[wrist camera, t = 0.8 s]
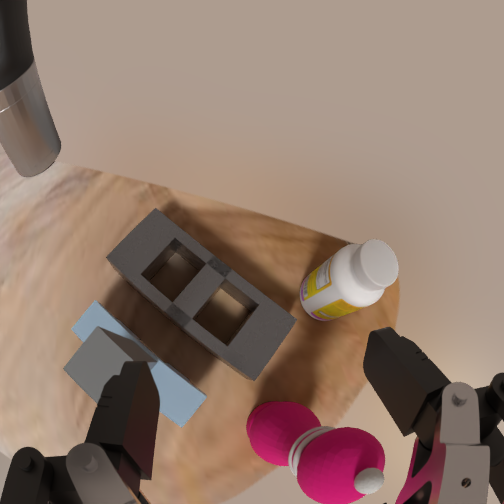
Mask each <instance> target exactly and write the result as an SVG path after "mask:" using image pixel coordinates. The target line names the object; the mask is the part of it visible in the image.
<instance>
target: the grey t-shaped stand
mask: <svg viewBox="0 0 504 504" xmlns="http://www.w3.org/2000/svg"><path fill="white" fill-rule="evenodd" d="M72 330H73V332H74V333H75V334H76V335H77V336H78V337H79V338H80V339H81V340H82V341H83V344H82V345H81V347H80V348H79V349H78V350H77V352H76V353H75V354H74V355H73V357H72V358H71V359H70V360H69V362H68V363H67V364H66V366H65V367H64V368H63V369H64V370H65V371H66V372H67V374H68V375H69V376H70V377H71V378H72V379H73V380H74V381H75V382H76V383H77V384H78V385H79V386H80V387H81V388H82V389H83V390H84V391H85V392H86V393H87V394H88V395H89V396H90V397H91V398H92V399H93V400H94V401H95V402H96V403H97V404H98V401H99V398H101V396H100V395H101V393H102V390H103V387H104V385H105V384H106V382H107V381H108V380H109V379H110V378H111V377H112V376H113V375H120V372H121V369H122V366H123V364H124V362H125V361H146V362H147V363H148V365H149V368H150V371H151V373H152V376H153V378H154V381H155V384H156V386H157V389H158V391H159V396H160V410H159V411H160V412H161V413H162V414H164V415H165V416H166V417H168V418H169V419H170V420H172V421H173V422H175V423H176V424H177V425H179V426H180V427H183V426H184V425H185V423H186V422H187V421H188V420H189V419H190V417H191V416H192V415H193V414H194V412H195V411H196V410H197V409H198V408H199V406H200V405H201V404H202V403H203V401H204V400H205V399H206V398H207V395H206V394H205V393H203V392H202V391H201V390H199V389H198V388H197V387H195V386H194V385H193V384H191V383H190V382H189V379H188V378H186V377H185V376H184V375H183V374H181V373H180V372H179V371H177V370H176V369H175V368H174V367H172V366H171V365H170V364H169V363H165V362H163V361H162V360H161V359H160V358H158V357H157V356H156V355H155V354H154V353H153V352H151V351H150V350H149V349H148V348H147V347H146V346H145V345H143V344H142V343H141V342H140V340H141V339H139V338H138V337H137V336H136V335H135V334H134V333H133V332H132V331H131V330H130V329H129V328H127V327H126V326H125V325H124V324H123V323H122V322H121V321H119V320H118V319H116V318H115V317H113V316H112V315H111V314H110V313H109V312H108V311H107V310H106V309H105V308H104V307H103V306H102V305H101V304H100V303H99V302H98V301H96V300H95V301H94V302H93V303H92V304H91V306H90V307H89V308H88V309H87V310H86V312H85V313H84V314H83V315H82V316H81V318H80V319H79V320H78V321H77V322H76V324H75V325H74V326H73V327H72Z"/></svg>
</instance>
